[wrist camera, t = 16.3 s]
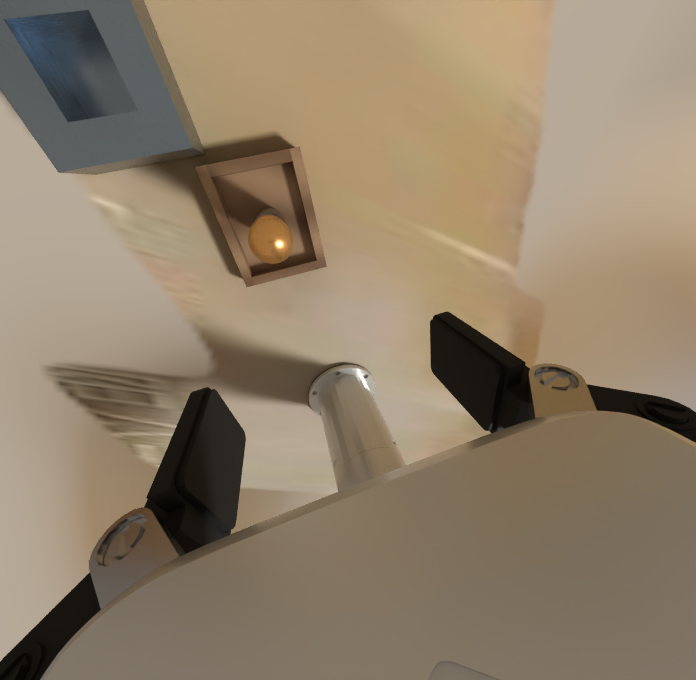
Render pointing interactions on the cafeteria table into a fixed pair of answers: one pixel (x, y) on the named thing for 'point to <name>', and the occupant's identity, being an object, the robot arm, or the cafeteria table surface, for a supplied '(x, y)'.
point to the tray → (261, 192)
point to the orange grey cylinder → (270, 237)
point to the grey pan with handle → (93, 84)
